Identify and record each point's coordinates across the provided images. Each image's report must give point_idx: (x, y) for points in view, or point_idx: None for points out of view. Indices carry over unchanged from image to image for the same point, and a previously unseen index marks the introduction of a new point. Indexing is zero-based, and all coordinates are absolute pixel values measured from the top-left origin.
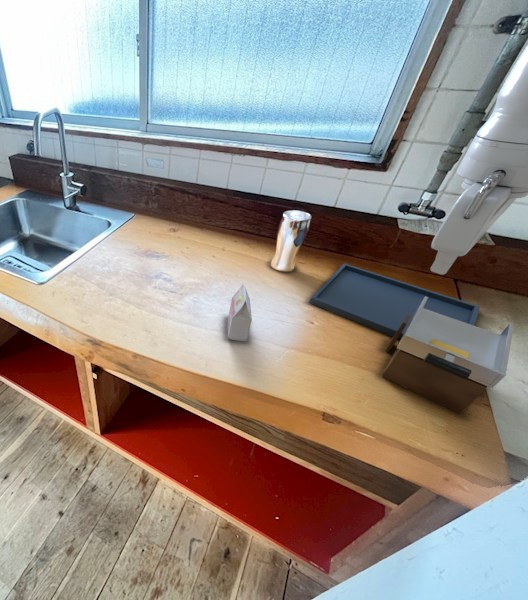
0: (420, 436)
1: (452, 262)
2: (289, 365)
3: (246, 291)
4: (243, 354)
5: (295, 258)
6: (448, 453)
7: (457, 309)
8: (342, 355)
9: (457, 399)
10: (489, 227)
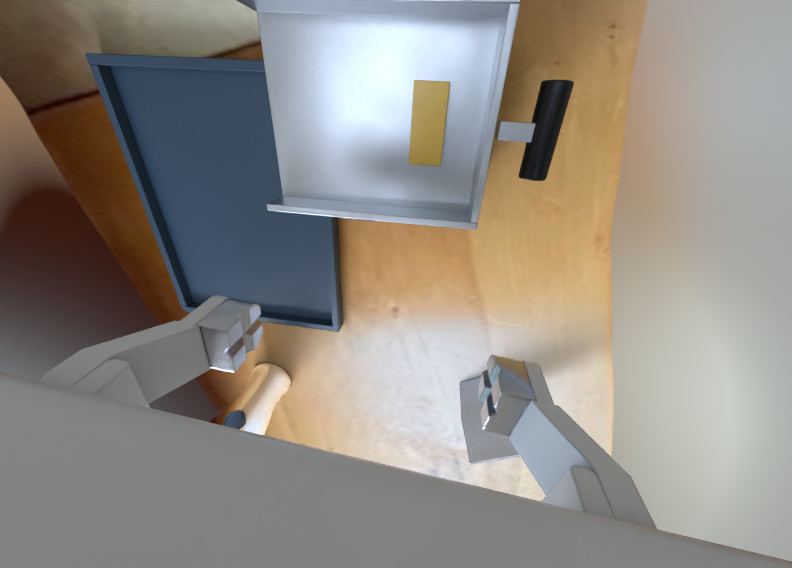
0: (597, 104)
1: (577, 425)
2: (527, 312)
3: (468, 443)
4: (540, 365)
5: (254, 380)
6: (620, 51)
7: (135, 96)
8: (451, 254)
9: None
10: (267, 497)
